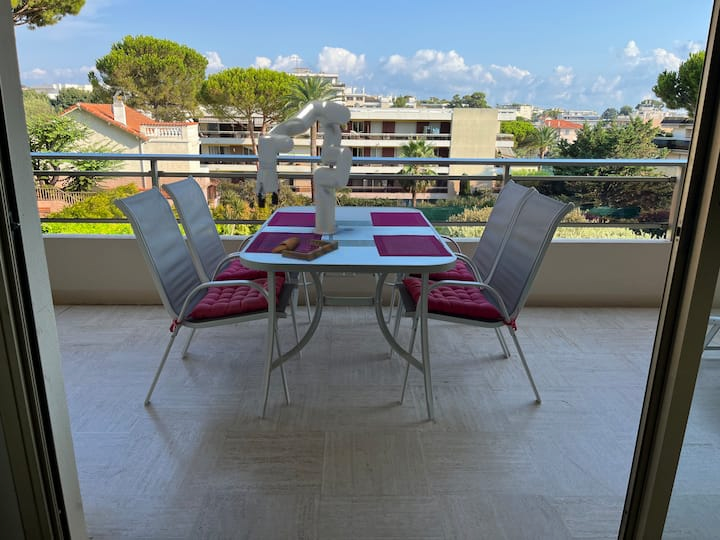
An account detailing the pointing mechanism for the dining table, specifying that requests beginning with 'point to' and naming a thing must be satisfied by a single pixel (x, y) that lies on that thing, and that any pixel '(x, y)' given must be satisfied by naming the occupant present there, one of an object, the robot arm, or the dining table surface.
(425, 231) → the dining table surface
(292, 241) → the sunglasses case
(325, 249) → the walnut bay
